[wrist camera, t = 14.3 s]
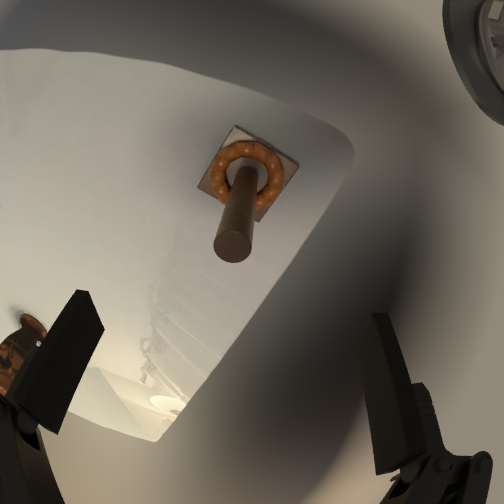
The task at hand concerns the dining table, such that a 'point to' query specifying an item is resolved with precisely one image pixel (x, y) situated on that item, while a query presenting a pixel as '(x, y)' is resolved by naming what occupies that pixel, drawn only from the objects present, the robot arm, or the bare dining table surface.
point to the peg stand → (242, 197)
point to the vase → (18, 349)
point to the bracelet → (249, 151)
